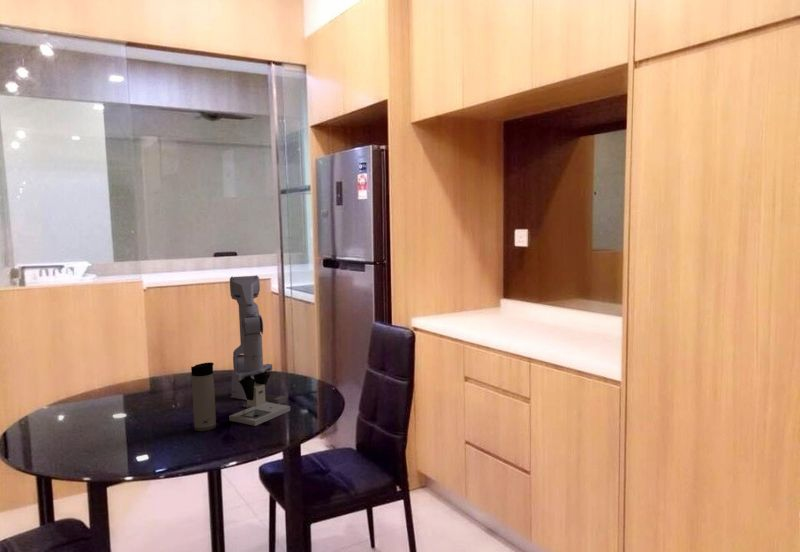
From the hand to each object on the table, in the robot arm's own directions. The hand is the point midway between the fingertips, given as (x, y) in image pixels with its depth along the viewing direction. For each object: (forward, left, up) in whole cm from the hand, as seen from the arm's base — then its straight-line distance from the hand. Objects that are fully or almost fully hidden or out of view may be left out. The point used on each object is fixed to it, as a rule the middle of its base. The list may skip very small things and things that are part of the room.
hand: (255, 397), depth 176 cm
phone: (-10, +13, -7) cm, 18 cm away
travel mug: (-8, -13, -7) cm, 17 cm away
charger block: (0, 0, -2) cm, 2 cm away
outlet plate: (-1, +3, -7) cm, 8 cm away
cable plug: (-5, +13, -8) cm, 16 cm away
